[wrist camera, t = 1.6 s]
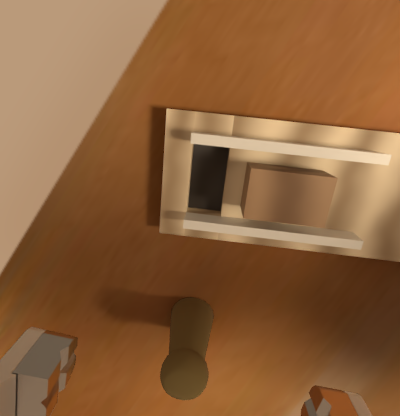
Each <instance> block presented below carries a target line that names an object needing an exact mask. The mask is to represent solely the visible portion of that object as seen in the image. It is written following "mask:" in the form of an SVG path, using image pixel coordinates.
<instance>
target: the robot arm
mask: <svg viewBox="0 0 400 416" xmlns="http://www.w3.org/2000/svg"><path fill="white" fill-rule="evenodd" d="M77 341H78V338H77V337H75V336H71V335H66V334H62V333H58V332H54V331H49V330H44V329H40V328H35V327H31V328H29V329H27V330H26V331H25V332H24V333H23V335H22V336H21V337H20V338H19V339H18V340H17V342H16V343H15V344H14V345H13V346H12V347H11V348H10V350H9V351H8V352H7V353H6V354H5V355H4V356H3V358H2V359H1V360H0V416H50V415H51V413H52V411H53V409H54V407H55V406H56V404H57V401H58V392H60V391H61V390H63V389H64V388H65V387H66V385H67V383H68V381H69V379H70V377H71V374H72V372H73V369H74V365H75V360H76V355H75V354H74V350H75V349H76V347H77ZM309 394H310V397H311V398H310V399H309V400H307V401H305V402H304V404H303V407H302V409H301V416H372V414H371V413H370V411H369V409H368V407H367V405H366V404H365V402H364V400H363V398H362V397H361V396H360V395H359V394H357V393H352V392H347V391H342V390H337V389H332V388H327V387H322V386H316V385H315V386H313V387H312V388H311V390H310V392H309Z"/></svg>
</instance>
